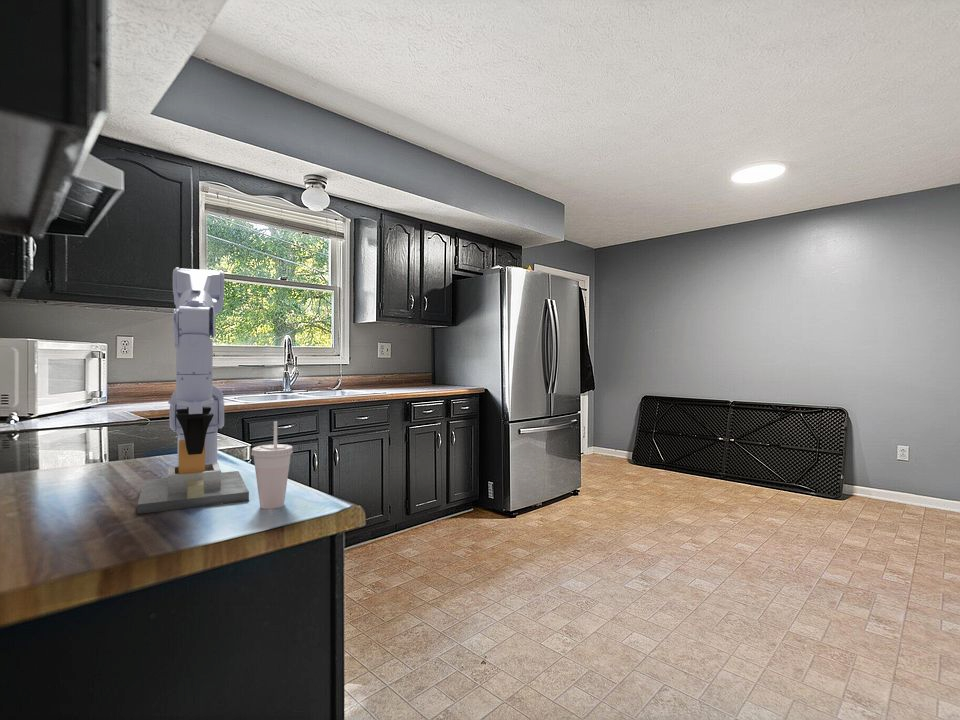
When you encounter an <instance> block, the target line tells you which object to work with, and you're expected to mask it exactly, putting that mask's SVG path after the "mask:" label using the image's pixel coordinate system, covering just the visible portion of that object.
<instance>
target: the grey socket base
mask: <svg viewBox="0 0 960 720" xmlns="http://www.w3.org/2000/svg"><path fill="white" fill-rule="evenodd" d="M167 472H168V473H167V477H161V478H159V477H158V478H150V479H143V482H142V487H141V490H140V493H139V498H138V501H137V508H136V509H137V513H136V514H137V515H140V514H141V515H142V514H150V513H151V514H152V513H157V512H165V511H173V510H182V509H190V508H191V509H192V508H199V507H207V506H215V505H216V506H218V505H223V504H233V503H239V502H240V503H241V502H248V501H250V490H249V489H248V487H247V485H246V483H245V481H244V479H243V477H242V475H241V473H240V471H239V470H236V471H235V470H234V471H224V472H223V471H222V470H221V467H220V465H219V462H217V463H207V464H205V471H203V472H192V473H181V474H179V466H178V465H175V466H168V470H167Z"/></svg>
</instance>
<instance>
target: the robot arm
mask: <svg viewBox="0 0 960 720" xmlns="http://www.w3.org/2000/svg"><path fill="white" fill-rule="evenodd" d="M172 293H173V303H174V305H175V308H174V309H173V312H172V331H173V333H172V334H173V339H174V348H175V349H176V351H175V390H174V391H173V392H172V394H171V395H170V396H171V397H170V398H169V399H168V400H167V401H168V402H167V403H168V405H169V413H168V414H169V429H171V430H172V431H176V434H177V466H179V440H185V444H186V449H187V452H188V455H194V454H202V451H203V448H204V443H205V464H207V463H218V432H219V429H223V427H224V426H225V400H224V393H223V391H222V390H221V389H220V388H218V387H217V386H215V385H214V384H213V377H214V376H213V367H214V366H213V363H214V362H213V355H214V353H213V349H214V348H213V347H214V346H213V343H214V342H213V341H214V340H213V339H215V335H216V315H217V314H220V313H222V312H223V307H224V303H225V302H224V300H225V299H224V297H225V273H224V271H223V270H220V269H219V270H211V269H197V268H196V269H195V268H182V267H181V268H180V267H179V266H178V267H177V266H176V267H175V268H174V269H173V271H172ZM211 337H212V338H211Z"/></svg>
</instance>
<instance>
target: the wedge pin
mask: <svg viewBox="0 0 960 720" xmlns="http://www.w3.org/2000/svg"><path fill="white" fill-rule="evenodd" d="M203 471H205V443H204V448H203V451H202V454H194V455H188V452H187V449H186V444H185V440H179V474H181V473H192V472H203Z"/></svg>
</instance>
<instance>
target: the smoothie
mask: <svg viewBox="0 0 960 720" xmlns="http://www.w3.org/2000/svg"><path fill="white" fill-rule="evenodd" d="M293 452H294V451H293V446H292V445H290V444H279V443H278V421H277V420H275V421H273V444H262V445H257V446H255V447H252V448H251V456H252V457H253V461H254V469H255V477H256V485H257V494H258V499H259V500H258V501H259V508H260V509H262V510H274V509H279V508H282V507H284V505H285V500H286V492H287V485H288V478H289V477H288V476H289V470H290V463H291V455H292V454H293Z"/></svg>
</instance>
